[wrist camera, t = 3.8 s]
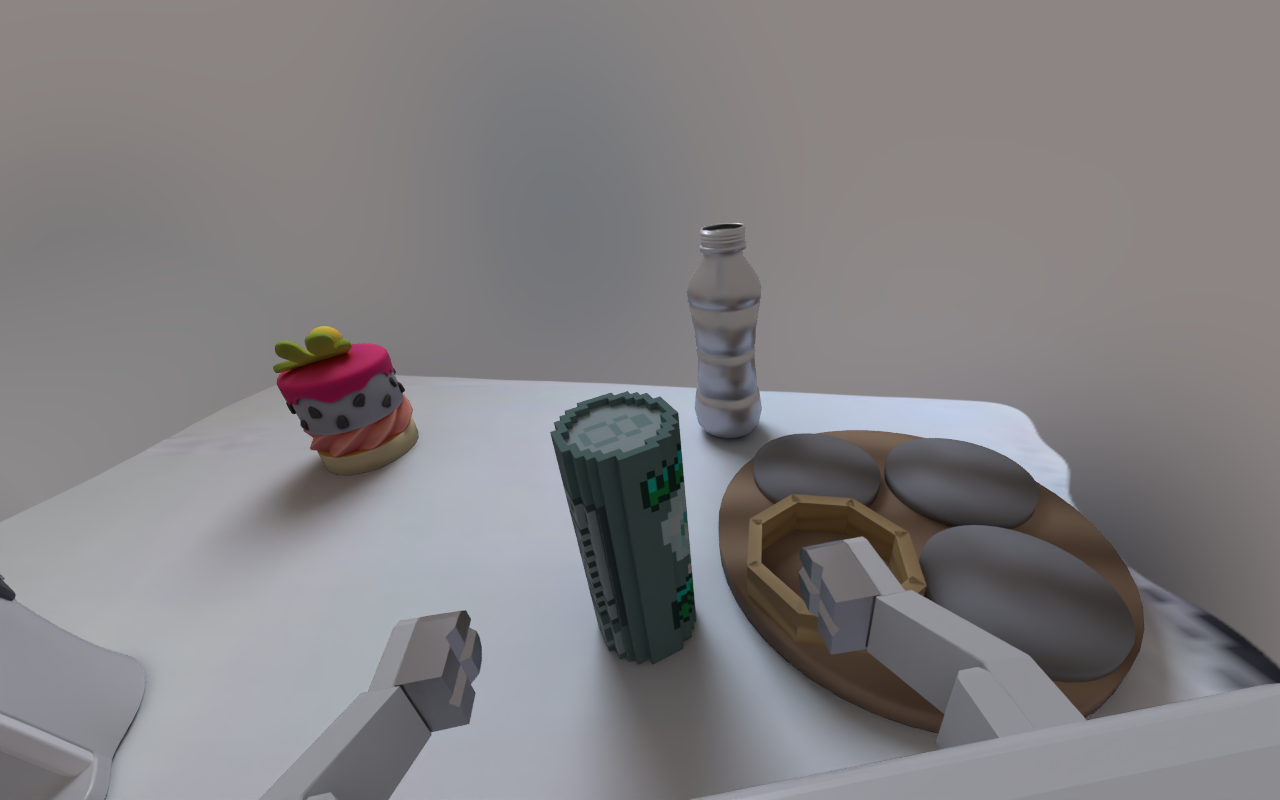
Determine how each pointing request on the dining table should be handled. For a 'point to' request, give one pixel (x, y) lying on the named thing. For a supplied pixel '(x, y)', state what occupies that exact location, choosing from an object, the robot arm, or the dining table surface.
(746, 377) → the plastic bottle
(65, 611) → the dining table surface
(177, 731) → the dining table surface
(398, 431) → the cake
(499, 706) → the dining table surface
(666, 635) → the can
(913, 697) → the wooden stone platter
